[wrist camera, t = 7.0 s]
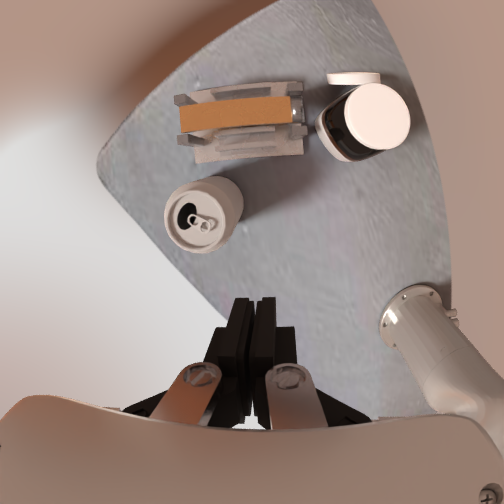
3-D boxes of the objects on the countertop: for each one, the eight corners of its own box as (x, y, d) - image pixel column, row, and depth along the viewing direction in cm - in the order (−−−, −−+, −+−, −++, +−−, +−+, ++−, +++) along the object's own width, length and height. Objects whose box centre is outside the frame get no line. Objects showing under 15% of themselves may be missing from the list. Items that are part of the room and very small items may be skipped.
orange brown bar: (301, 98, 27) (304, 95, 26) (303, 123, 28) (306, 121, 27) (181, 108, 27) (178, 105, 26) (183, 133, 28) (180, 132, 27)
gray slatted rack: (295, 83, 32) (302, 63, 24) (302, 154, 35) (312, 152, 27) (191, 94, 33) (171, 78, 25) (197, 163, 36) (177, 164, 28)
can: (203, 166, 36) (174, 170, 25) (253, 190, 37) (246, 204, 25) (182, 215, 38) (148, 239, 27) (230, 238, 39) (213, 271, 28)
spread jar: (335, 169, 35) (362, 174, 24) (286, 100, 33) (293, 75, 22) (400, 127, 32) (444, 120, 21) (354, 61, 30) (384, 30, 19)
